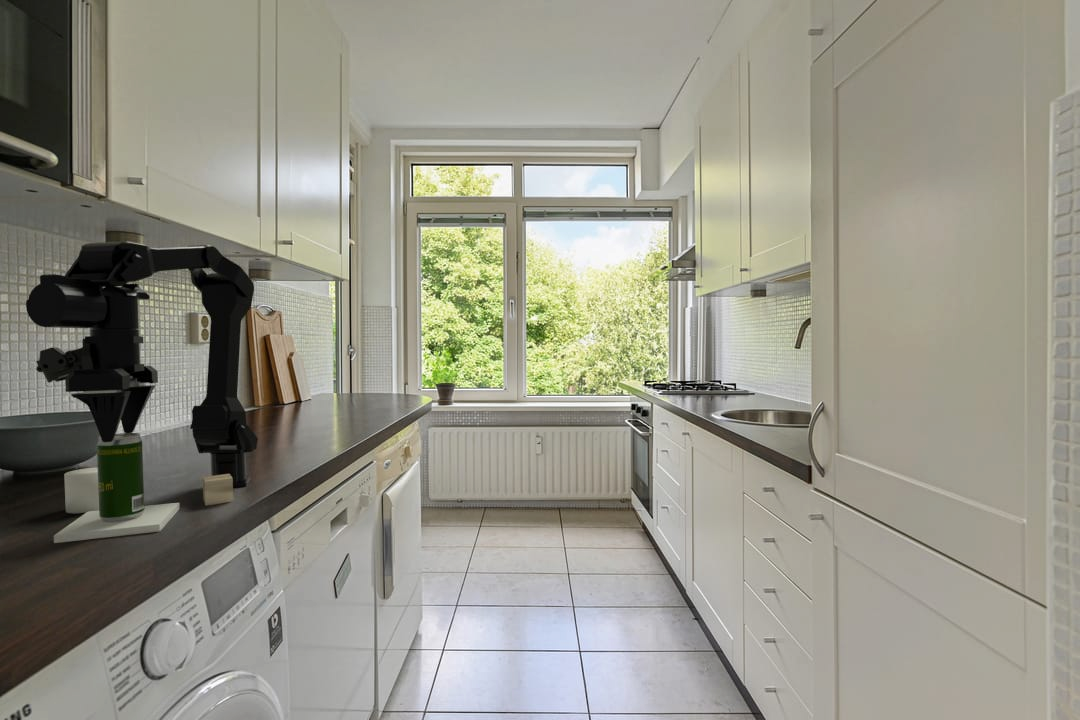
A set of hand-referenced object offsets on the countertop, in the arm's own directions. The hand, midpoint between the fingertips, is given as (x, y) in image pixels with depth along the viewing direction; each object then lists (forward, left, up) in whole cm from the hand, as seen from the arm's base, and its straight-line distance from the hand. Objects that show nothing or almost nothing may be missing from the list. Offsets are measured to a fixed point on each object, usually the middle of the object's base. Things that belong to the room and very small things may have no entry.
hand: (118, 437), depth 84 cm
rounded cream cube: (-13, -8, -13) cm, 20 cm away
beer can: (0, 0, -12) cm, 12 cm away
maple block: (-9, +11, -13) cm, 19 cm away
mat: (0, 0, -13) cm, 13 cm away
